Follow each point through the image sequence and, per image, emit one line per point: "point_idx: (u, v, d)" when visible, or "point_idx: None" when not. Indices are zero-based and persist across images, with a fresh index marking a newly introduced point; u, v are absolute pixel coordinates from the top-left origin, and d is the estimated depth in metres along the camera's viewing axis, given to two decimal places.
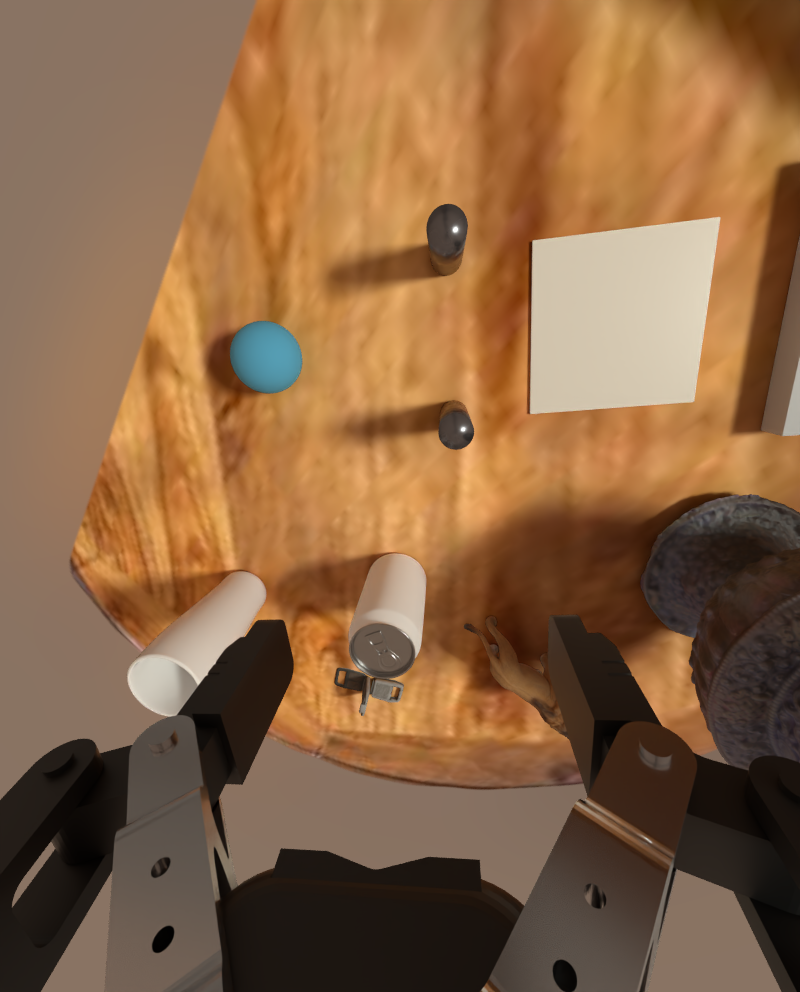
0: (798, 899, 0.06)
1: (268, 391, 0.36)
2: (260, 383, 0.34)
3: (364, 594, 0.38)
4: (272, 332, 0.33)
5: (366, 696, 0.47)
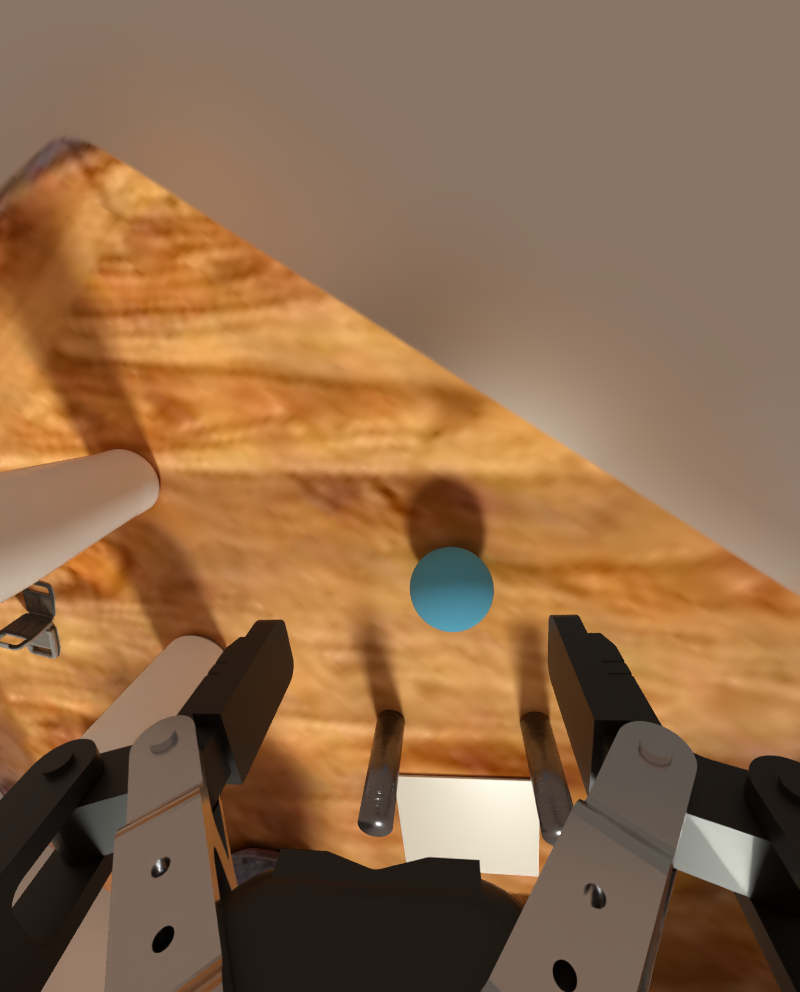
0: (798, 899, 0.06)
1: (412, 599, 0.29)
2: (421, 606, 0.28)
3: (170, 704, 0.31)
4: (480, 620, 0.28)
5: (22, 646, 0.36)
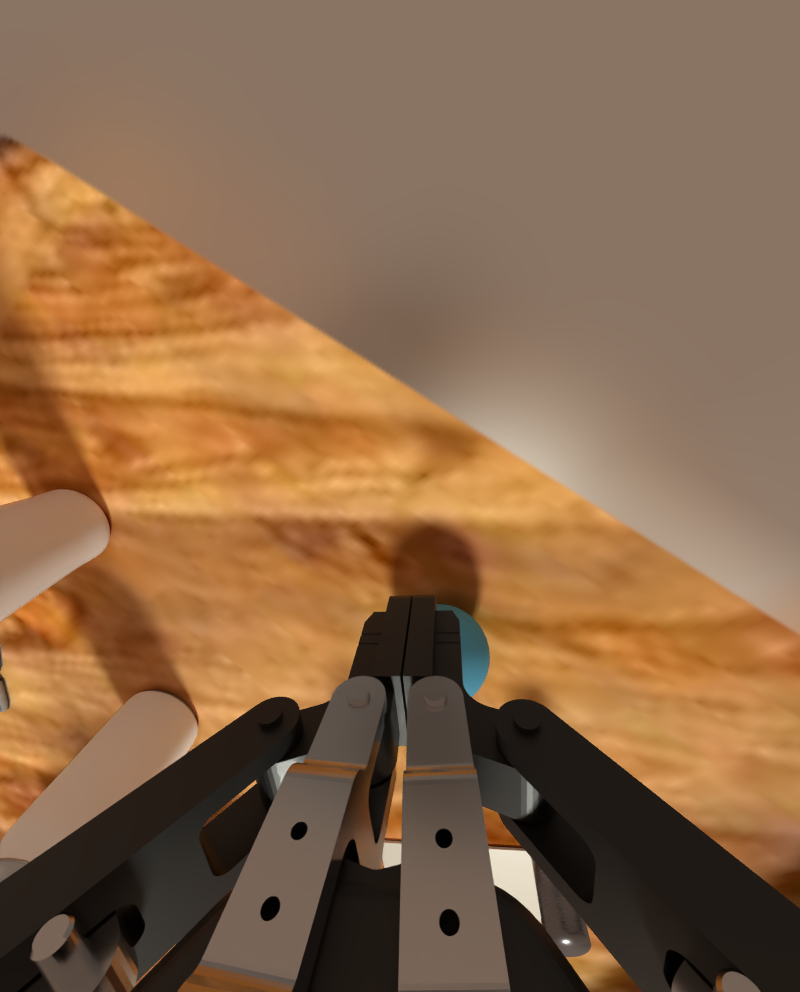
0: (546, 807, 0.08)
1: None
2: None
3: (119, 782, 0.27)
4: (473, 694, 0.24)
5: None
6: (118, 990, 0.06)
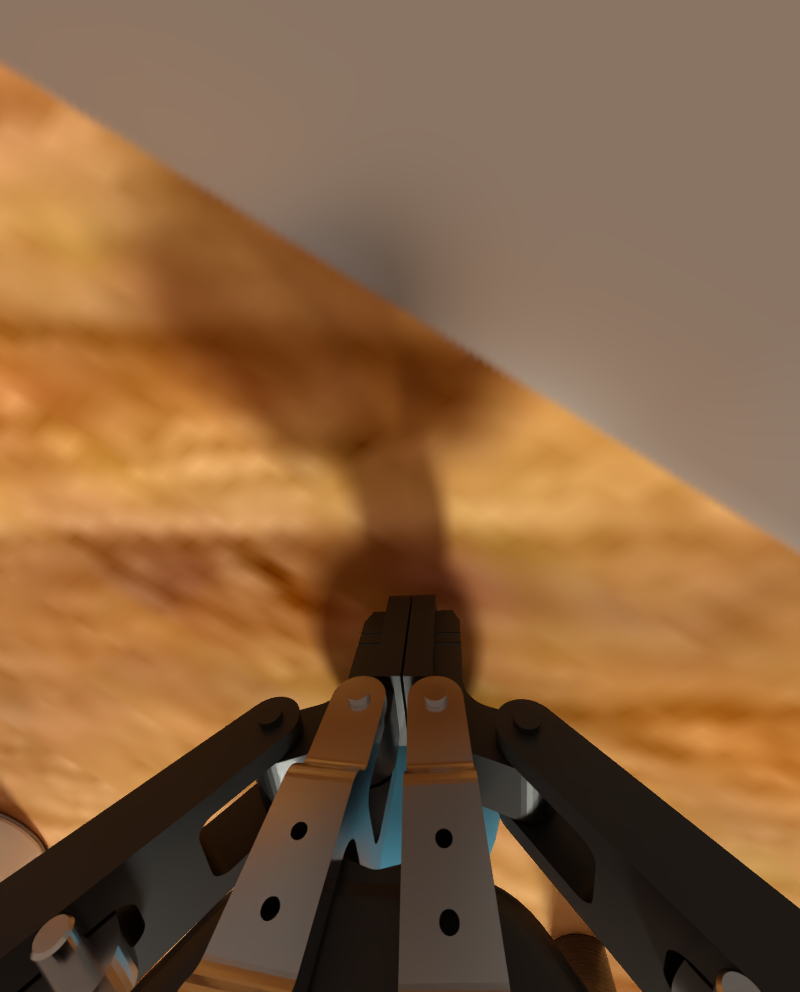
0: (547, 807, 0.08)
1: None
2: None
3: None
4: None
5: None
6: (117, 991, 0.06)
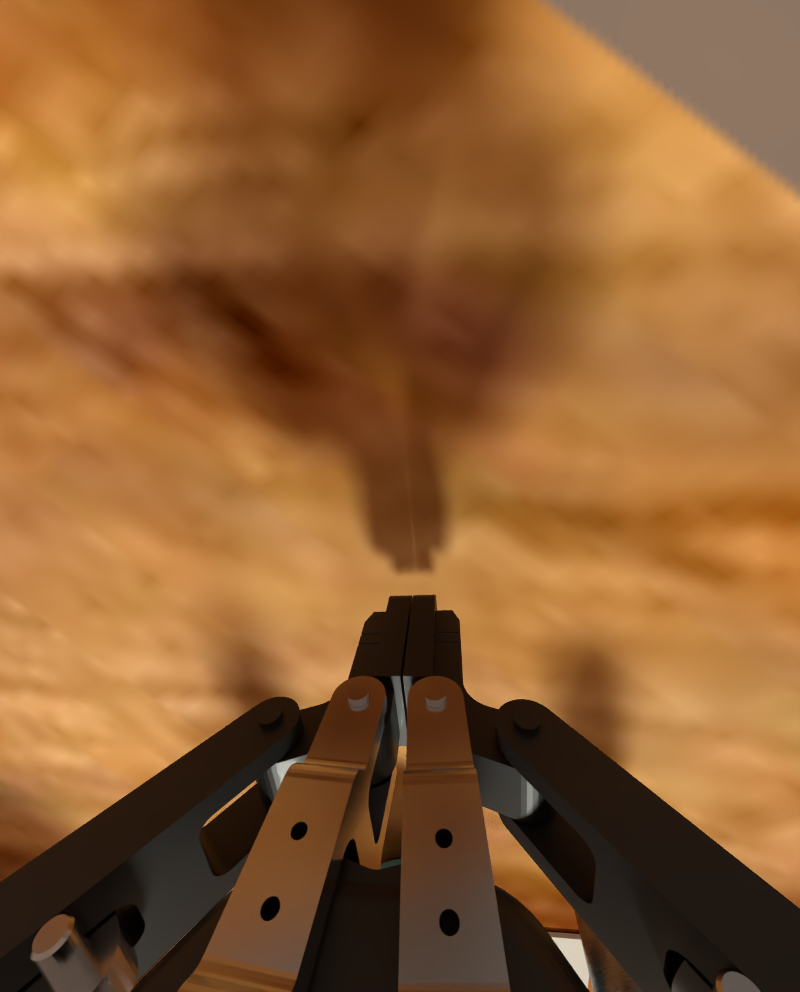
0: (547, 807, 0.08)
1: None
2: None
3: None
4: None
5: None
6: (116, 991, 0.06)
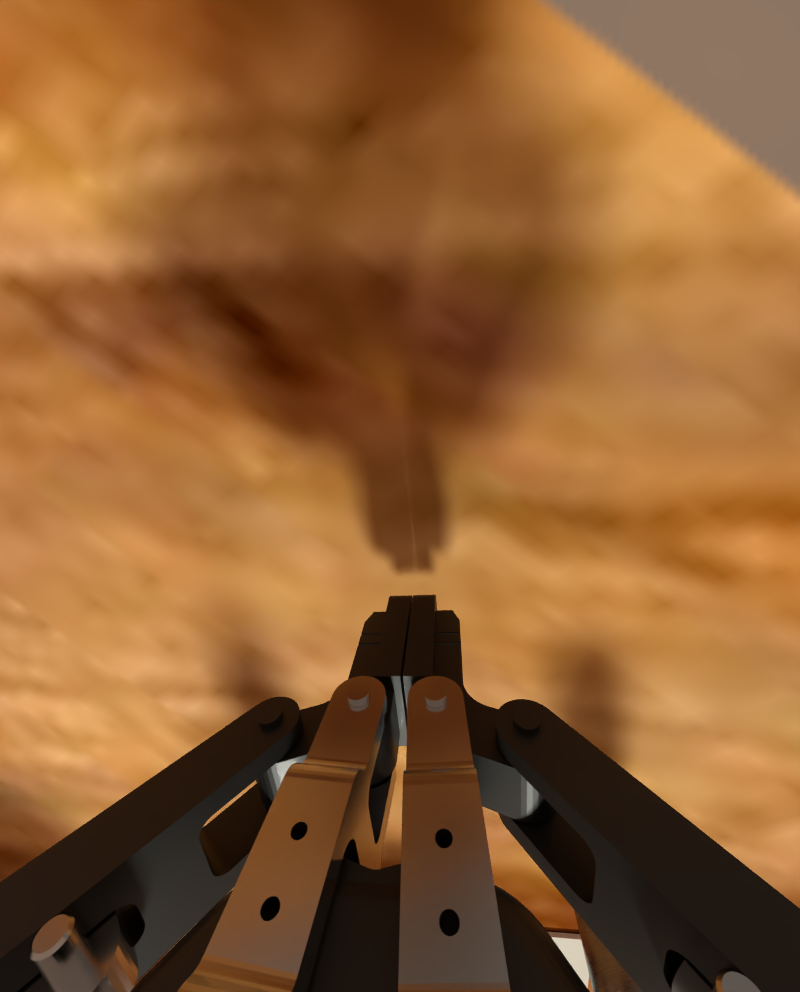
0: (547, 807, 0.08)
1: None
2: None
3: None
4: None
5: None
6: (116, 991, 0.06)
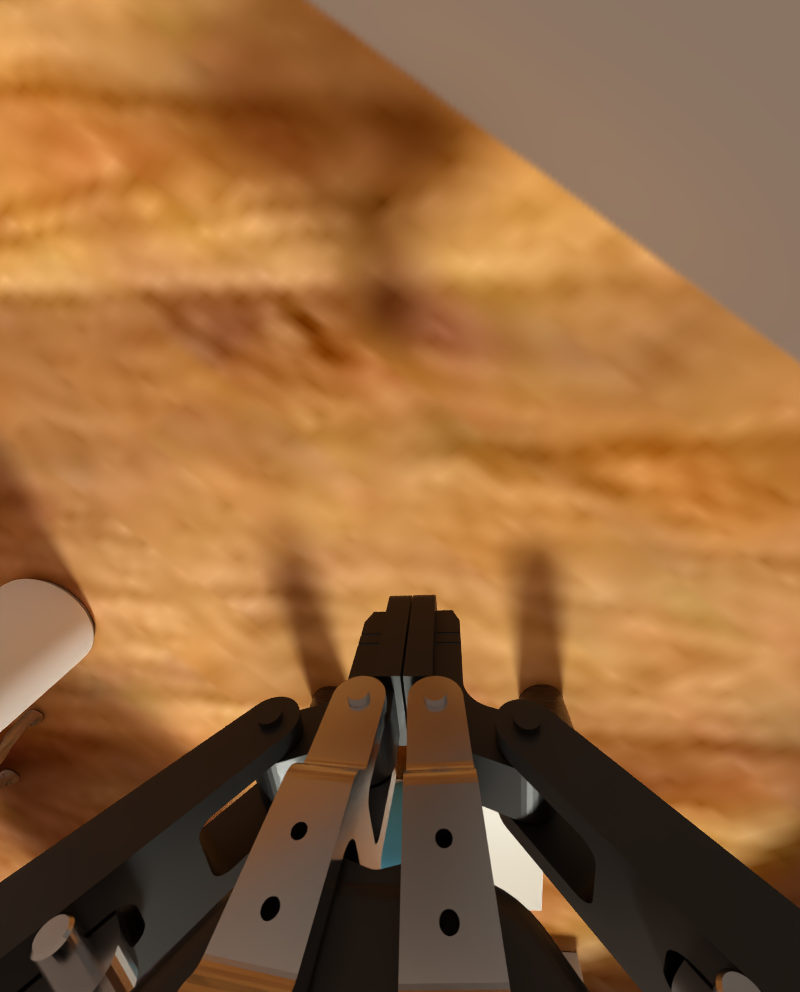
0: (546, 807, 0.08)
1: None
2: None
3: None
4: None
5: None
6: (117, 991, 0.06)
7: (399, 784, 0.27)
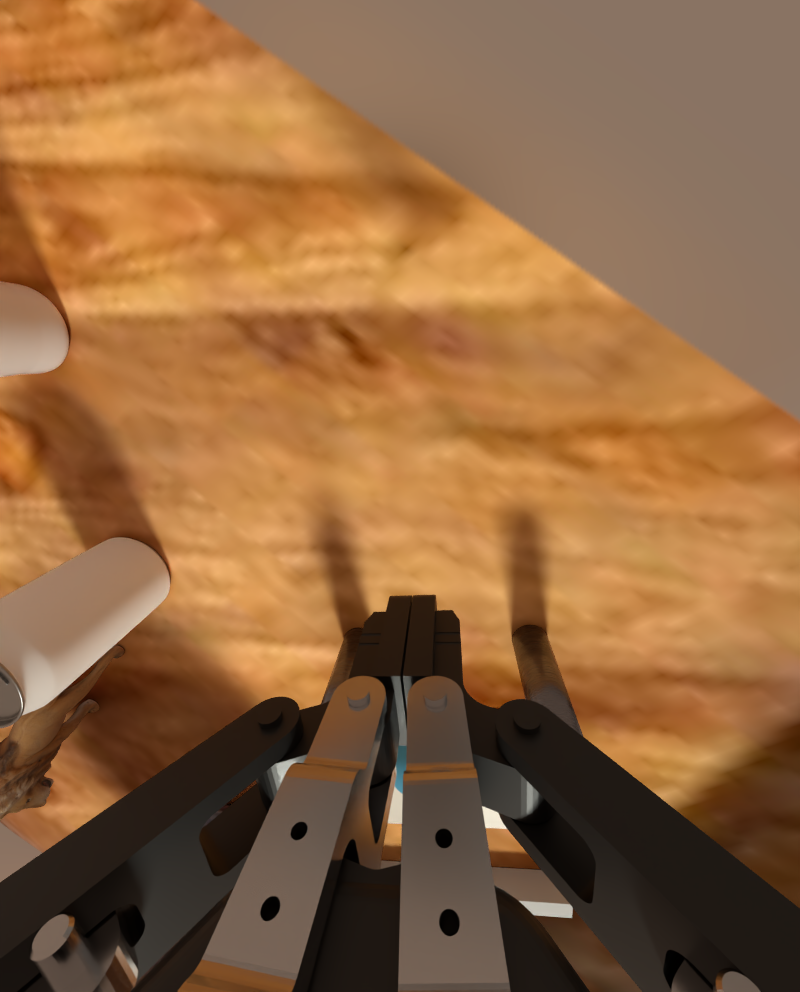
0: (547, 807, 0.08)
1: None
2: None
3: (78, 598, 0.25)
4: None
5: None
6: (117, 991, 0.06)
7: None
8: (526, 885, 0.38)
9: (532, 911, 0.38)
